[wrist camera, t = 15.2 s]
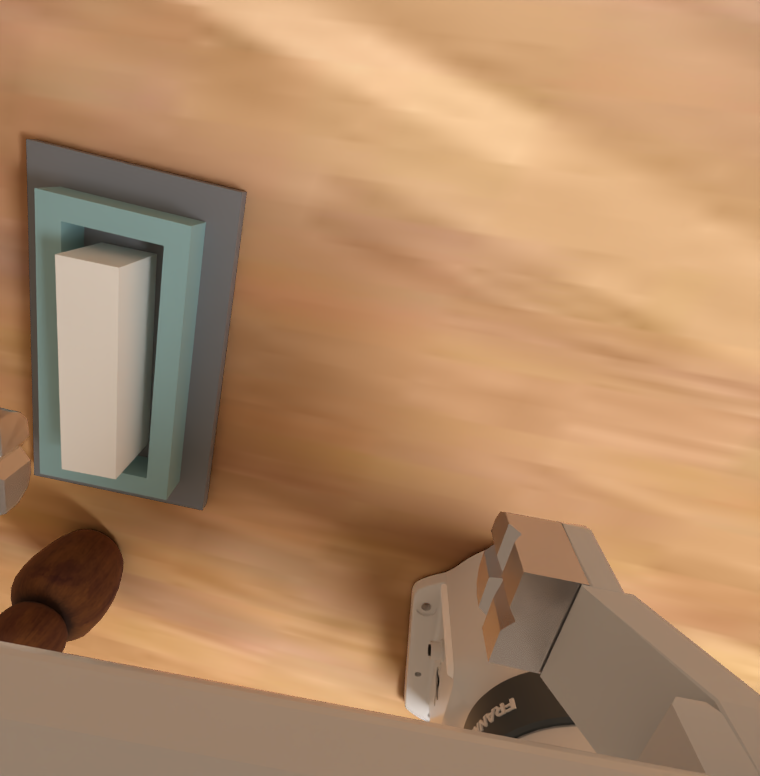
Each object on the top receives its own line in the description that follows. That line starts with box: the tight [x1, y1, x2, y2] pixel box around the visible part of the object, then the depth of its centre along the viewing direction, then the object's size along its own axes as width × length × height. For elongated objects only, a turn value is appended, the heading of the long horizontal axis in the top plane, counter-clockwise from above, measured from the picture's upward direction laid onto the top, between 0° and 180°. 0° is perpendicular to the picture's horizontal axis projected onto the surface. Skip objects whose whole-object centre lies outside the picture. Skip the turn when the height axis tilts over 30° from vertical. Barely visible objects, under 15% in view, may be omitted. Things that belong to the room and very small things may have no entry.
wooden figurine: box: [0, 529, 123, 652], centre depth 38 cm, size 7×6×15 cm
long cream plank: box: [55, 242, 157, 479], centre depth 34 cm, size 14×4×5 cm, turn 168°
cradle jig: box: [26, 139, 247, 510], centre depth 36 cm, size 24×13×4 cm, turn 167°
